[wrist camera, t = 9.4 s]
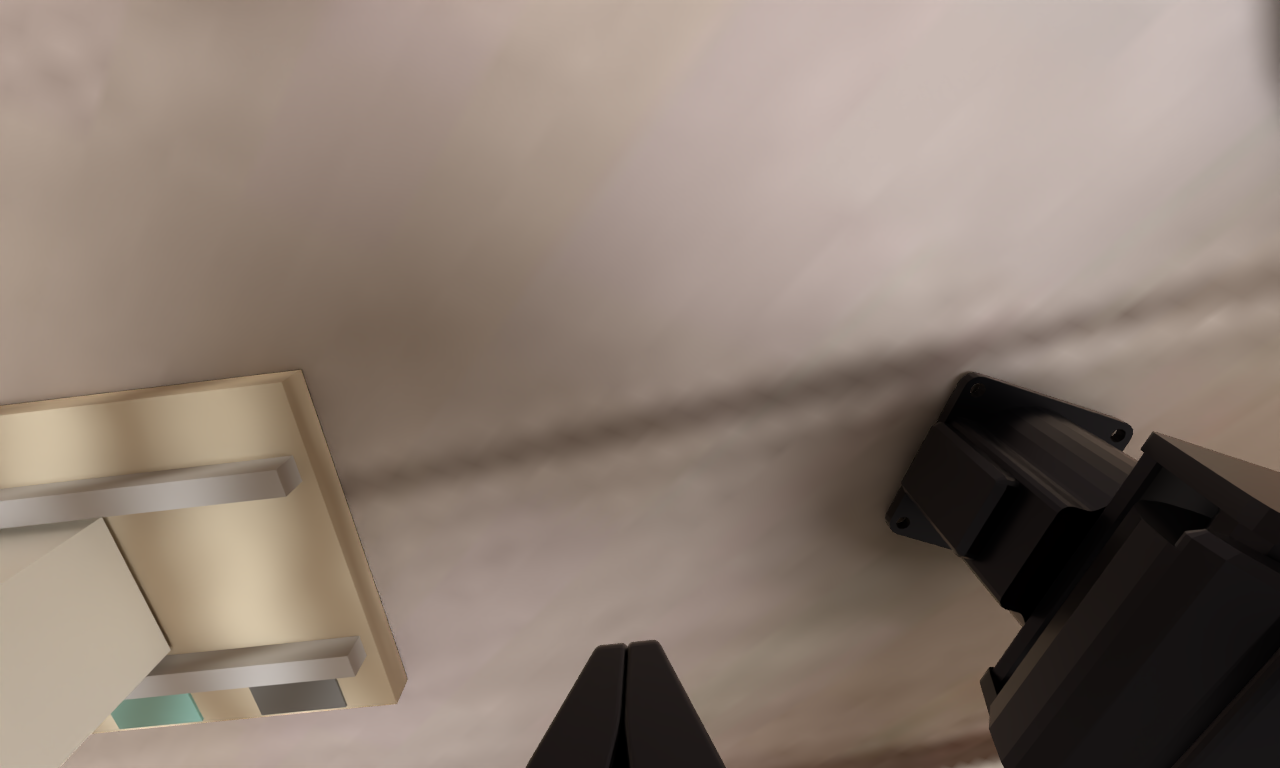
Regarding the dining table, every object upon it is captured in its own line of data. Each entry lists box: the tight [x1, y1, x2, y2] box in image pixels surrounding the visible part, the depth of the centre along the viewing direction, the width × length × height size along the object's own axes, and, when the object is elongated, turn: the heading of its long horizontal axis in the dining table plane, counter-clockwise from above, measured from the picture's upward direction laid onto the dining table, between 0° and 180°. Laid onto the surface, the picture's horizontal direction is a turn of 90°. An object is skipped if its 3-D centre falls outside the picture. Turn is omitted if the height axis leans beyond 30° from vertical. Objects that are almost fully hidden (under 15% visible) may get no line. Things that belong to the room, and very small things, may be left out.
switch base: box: [0, 370, 408, 734], centre depth 21 cm, size 13×14×3 cm
